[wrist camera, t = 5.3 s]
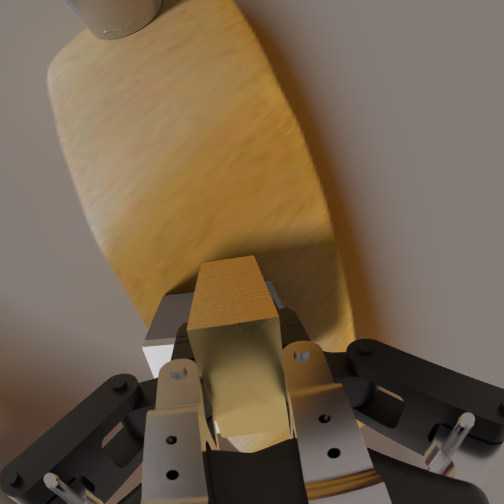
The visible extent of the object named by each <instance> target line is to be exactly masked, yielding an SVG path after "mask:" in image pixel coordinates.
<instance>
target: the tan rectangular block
mask: <svg viewBox="0 0 504 504" xmlns="http://www.w3.org/2000/svg"><path fill="white" fill-rule="evenodd" d="M187 334H188V337H189V341H190V344H191V348H192V351H193V354H194V358H195V361H196V364H197V367H198V370H199V374H200V377H201V380H204V383H205V387H206V390H207V393H208V396H209V399H210V402H211V405H212V408H213V415H214V417H215V420H216V423H217V425H218V428H219V431H220V433H221V436H222V437H233V436H241V435H249V434H255V433H262V432H268V431H273V430H279V429H284V428H289V425H288V418H287V412H286V402H285V389H284V376H283V364H282V356H283V352H282V341H281V331H280V321H279V315H278V313H277V310H276V308H275V305H274V303H273V300H272V298H271V296H270V293H269V291H268V288H267V286H266V283H265V281H264V279H263V276H262V274H261V271H260V269H259V267H258V264H257V262H256V259H255V257H254V255H251V256H244V257H238V258H231V259H225V260H219V261H212V262H206V263H201V265H200V269H199V274H198V278H197V283H196V287H195V292H194V296H193V301H192V306H191V311H190V315H189V320H188V325H187Z"/></svg>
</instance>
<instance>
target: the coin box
mask: <svg viewBox="0 0 504 504" xmlns="http://www.w3.org/2000/svg"><path fill="white" fill-rule="evenodd" d="M265 283H266V286H267V288H268V291H269V293H270V296H271V298H272V299H274V300H275V302H276V304H277V306H278V309H282V308H284V307H283V305H282V303H281V301H280V299H279V296H278V294H277V292H276V290H275V288H274V286H273V284H272V282H271V280H270V281H265ZM193 296H194V292H188V293H180V294H173V295H165V296H163V298H162V300H161V302H160V305H159V307H158V309H157V312H156V314H155V316H154V319H153V321H152V323H151V326H150V328H149V331H148V333H147V336H146V338H145V341H144V343H143V346H142V348H143V351H144V354H145V356H146V359H147V361H148V364H149V366H150V369H151V371H152V373H153V376H154V378H157V377H158V375H159V370H160V369H161V367H162V366H163V365H164V364H166V363H168V362H169V361H171V356H172V352H173V348H174V344H175V339H176V335H177V330H178V329H179V328H180V326H181V325H182V324H183V323H187V322H188V320H189V315H190V311H191V306H192V301H193ZM214 419H215V417H214ZM215 426H216V432H217V433H220V431H219V428H218V425H217V423H216V420H215Z"/></svg>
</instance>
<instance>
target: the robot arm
mask: <svg viewBox="0 0 504 504" xmlns="http://www.w3.org/2000/svg"><path fill="white" fill-rule="evenodd" d="M61 1H62V2H63V3H64V4H65V5H66V6H67V7H68V8H69V9H70V10H71V11H72V12H73V13H74V14H75V15H76V16H77V17H78V18H79V19H80V20H81V21H82V22H83V23H84V24H85V25H86V27H87V28H88V29H89V30H90V31H91V32H92V33H93V34H94V35H96V36H97V37H99V38H101V39H117V38H122V37H125V36H127V35H130V34H132V33H134V32H136V31H138V30H140V29H141V28H143V27H144V26H145V25H147V24H148V23H149V22H150V21H151V20H152V19H153V18H154V17H155V16H156V14H157V13H158V11H159V9H160V7H161V3H162V0H61ZM272 300H273V303H274V305H275V308H276V310H277V313H278V315H279V321H280V331H281V341H282V352H283V356H282V364H283V376H284V389H285V402H286V412H287V418H288V425H289V432H290V439H288V440H285V441H283V442H280V443H278V444H275V445H273V446H270V447H268V448H265V449H262V450H260V451H257V452H254V453H243V452H231V451H221V450H220V449H219V444H218V438H217V432H216V426H215V419H214V415H213V408H212V405H211V402H210V399H209V396H208V393H207V390H206V387H205V383H204V380H201V377H200V374H199V370H198V367H197V364H196V361H195V358H194V354H193V351H192V348H191V344H190V341H189V337H188V334H187V325H188V322H187V323H183V324H182V325H181V326H180V328H179V329H178V330H177V335H176V339H175V344H174V348H173V352H172V356H171V361H169V362H168V363H166V364H164V365H163V366H162V367H161V369H160V370H159V375H158V377H157V378H155V379H152V380H149V381H145V382H141V383H138V381H137V379H136V378H135V377H134V376H133V375H130V374H119V375H115V376H113V377H111V378H110V379H108V380H107V381H106V382H104V383H103V384H102V385H101V386H100V387H99V388H98V389H96V390H95V391H94V392H93V393H92V394H90V395H89V396H88V397H87V398H86V399H85V400H83V401H82V402H81V403H80V404H79V405H77V407H75V408H74V409H73V410H72V411H70V412H69V413H68V414H67V415H66V416H65V417H63V418H62V419H61V420H60V421H59V422H57V423H56V424H55V425H54V426H53V427H52V428H50V429H49V430H48V431H47V432H46V433H45V434H43V435H42V436H41V437H40V438H39V439H37V440H36V441H35V442H34V443H33V444H31V445H30V446H29V447H28V448H27V449H26V450H24V451H23V452H22V453H21V454H20V455H19V456H17V457H16V458H15V459H14V460H13V461H11V462H10V463H9V464H8V465H7V466H6V467H4V469H3V470H2V472H1V474H0V486H1V488H2V490H3V491H4V493H6V494H7V495H8V496H9V497H10V498H12V499H13V500H14V501H16V502H17V503H18V504H105V503H106V502H107V501H108V500H109V499H110V497H111V496H112V495H113V494H114V493H115V492H116V491H117V490H118V489H119V488H120V487H121V485H122V484H123V483H124V482H125V481H126V480H127V479H128V478H129V476H130V475H131V474H132V473H133V472H134V471H135V470H136V468H137V467H138V466H139V465H140V464H141V463H142V462H143V470H142V482H141V483H140V484H139V485H138V486H137V487H136V488H135V489H133V490H132V491H131V492H130V493H129V494H128V495H127V496H126V497H124V498H123V499H122V500H121V501H119V502H118V503H117V504H489V501H488V499H487V497H486V495H485V493H484V492H483V491H482V490H481V489H482V487H483V486H484V484H485V482H486V480H487V478H488V476H489V473H490V472H491V469H492V467H493V465H494V463H495V460H496V458H497V456H498V453H499V451H500V448H501V446H502V444H503V443H504V389H502V388H499V387H496V386H493V385H491V384H488V383H485V382H482V381H479V380H476V379H474V378H471V377H468V376H465V375H463V374H460V373H458V372H455V371H452V370H450V369H447V368H444V367H442V366H439V365H437V364H434V363H431V362H429V361H426V360H424V359H421V358H419V357H416V356H414V355H411V354H409V353H406V352H404V351H401V350H398V349H396V348H393V347H391V346H389V345H386V344H384V343H381V342H379V341H377V340H373V339H359V340H356V341H354V342H352V343H350V344H349V345H348V347H347V350H346V352H337V353H331V352H324V351H323V350H322V348H321V347H320V346H319V345H318V344H316V343H314V342H311V340H310V339H309V337H308V335H307V333H306V331H305V329H304V327H303V326H302V324H301V322H300V320H299V318H298V316H297V314H296V313H295V312H294V311H293V310H291V309H289V308H288V307H287V308H282V309H278V306H277V304H276V302H275V300H274V299H272ZM379 386H380V387H382V388H384V389H386V390H388V391H390V392H393V393H395V394H397V395H399V396H400V397H401V398H402V399H403V401H404V402H403V401H401V400H399V399H397V398H395V397H393V396H391V395H389V394H387V393H385V392H382V391H380V390H379ZM356 419H357V420H358V421H360V422H362V423H364V424H365V425H367V426H369V427H370V428H372V429H374V430H376V431H377V432H379V433H381V434H383V435H385V436H386V437H388V438H390V439H392V440H394V441H396V442H397V443H400V444H401V445H403V446H405V447H407V448H409V449H411V450H413V451H415V452H417V453H419V454H421V455H423V456H424V459H425V463H426V465H427V468H428V470H425V469H422V468H419V467H416V466H413V465H410V464H407V463H404V462H402V461H399V460H396V459H394V458H391V457H389V456H386V455H384V454H381V453H379V452H377V451H374V450H372V449H370V448H367V447H366V445H365V442H364V440H363V437H362V434H361V432H360V429H359V426H358V424H357V421H356ZM119 422H121V423H122V425H123V426H124V427H123V428H122V429H121V430H120V431H119V432H118V433H117V434H116V435H115V436H114V437H113V438H112V439H111V440H110V441H109V442H108V443H107V445H105V446H104V447H103V448H102V440H103V439H104V437H105V436H106V435H107V434H108V433H109V432H110V431H111V430H112V429H113V428H114V427H115V426H116V425H117V424H118V423H119Z"/></svg>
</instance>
